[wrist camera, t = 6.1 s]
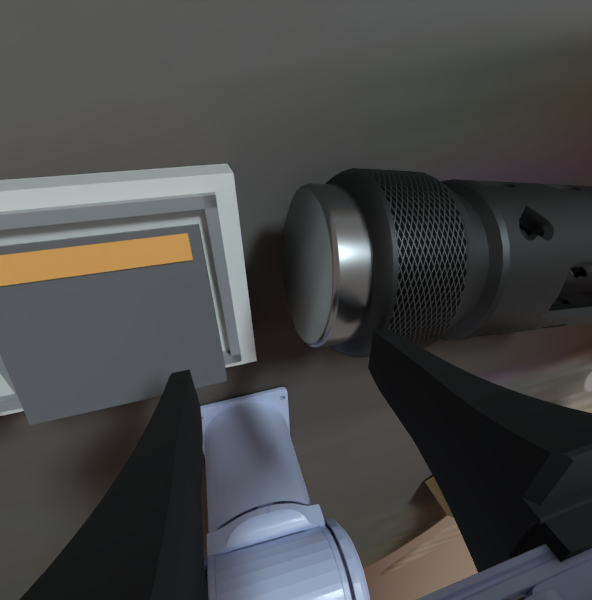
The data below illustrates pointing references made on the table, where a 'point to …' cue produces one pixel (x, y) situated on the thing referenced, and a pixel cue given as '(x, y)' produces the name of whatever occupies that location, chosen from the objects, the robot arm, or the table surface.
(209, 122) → the table surface
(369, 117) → the table surface
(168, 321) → the rocker
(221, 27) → the table surface
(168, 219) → the switch panel
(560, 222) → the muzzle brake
